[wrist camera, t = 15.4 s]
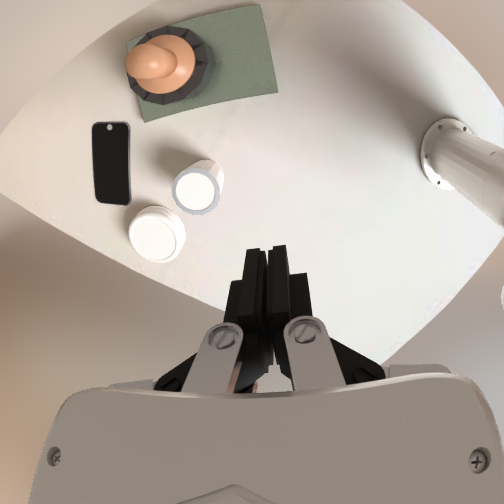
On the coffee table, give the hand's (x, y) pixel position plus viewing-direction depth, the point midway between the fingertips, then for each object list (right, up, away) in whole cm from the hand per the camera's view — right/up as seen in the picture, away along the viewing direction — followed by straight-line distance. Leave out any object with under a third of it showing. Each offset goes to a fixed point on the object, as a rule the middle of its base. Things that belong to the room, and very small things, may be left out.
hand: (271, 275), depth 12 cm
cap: (-11, +26, +18) cm, 34 cm away
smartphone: (-25, +16, +30) cm, 42 cm away
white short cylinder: (-17, +5, +37) cm, 41 cm away
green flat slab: (-8, +28, +21) cm, 36 cm away
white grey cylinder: (-8, +13, +31) cm, 34 cm away
